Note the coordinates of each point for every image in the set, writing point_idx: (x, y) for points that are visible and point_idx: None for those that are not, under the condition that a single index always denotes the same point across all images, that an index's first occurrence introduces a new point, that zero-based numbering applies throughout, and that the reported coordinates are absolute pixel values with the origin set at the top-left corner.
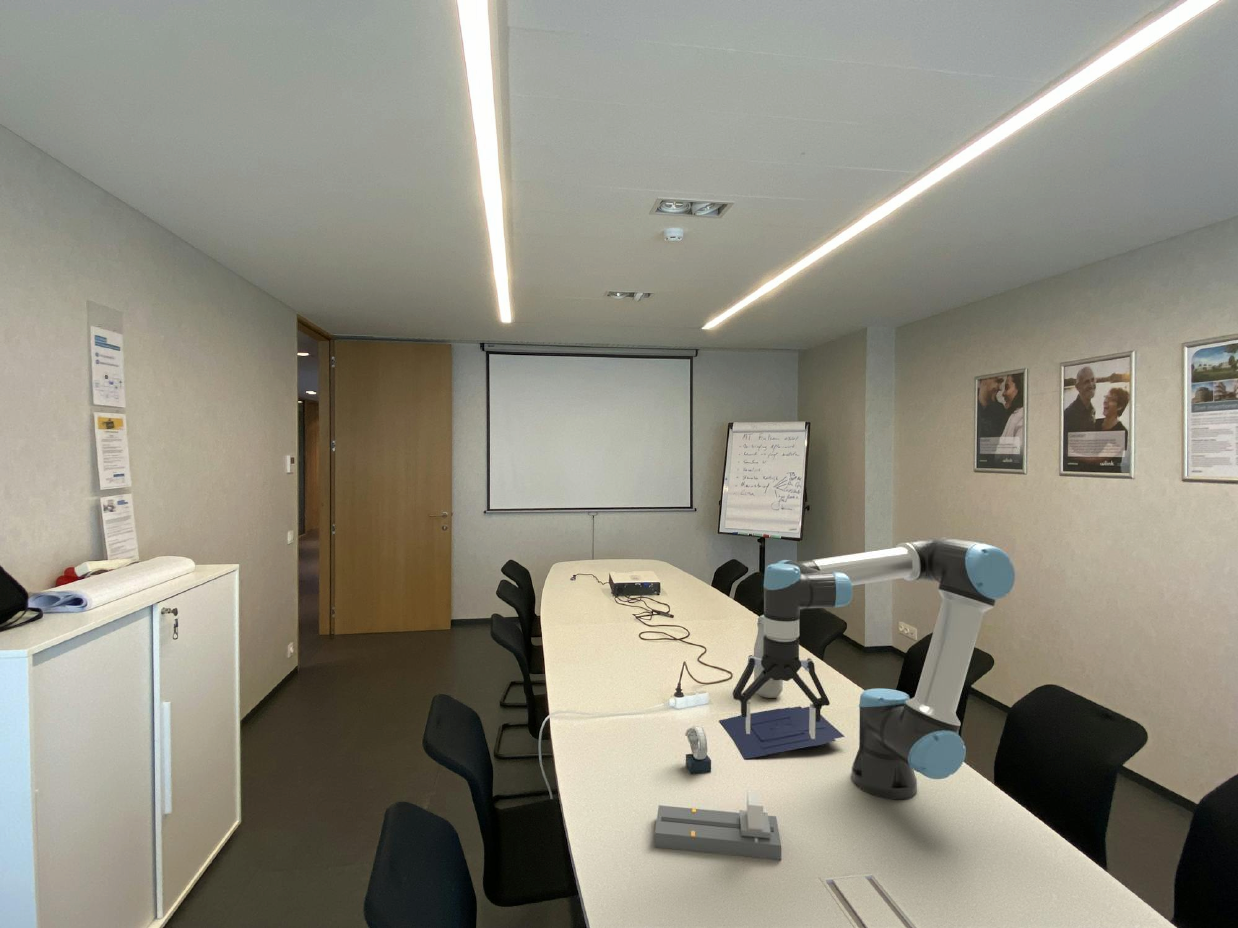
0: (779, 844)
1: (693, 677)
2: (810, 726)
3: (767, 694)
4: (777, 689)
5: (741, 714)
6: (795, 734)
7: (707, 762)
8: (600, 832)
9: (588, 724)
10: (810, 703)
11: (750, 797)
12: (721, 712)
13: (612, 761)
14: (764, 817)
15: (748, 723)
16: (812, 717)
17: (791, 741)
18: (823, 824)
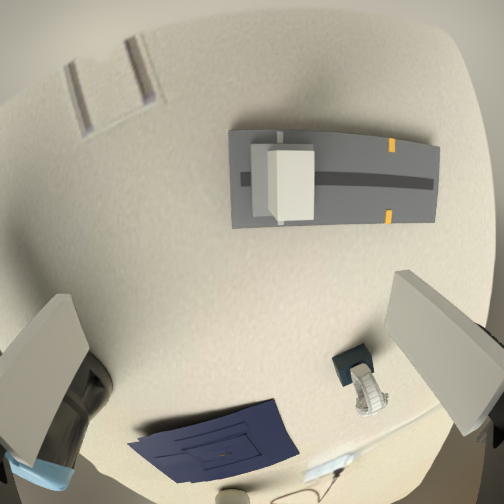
0: (232, 133)
1: (314, 492)
2: (59, 350)
3: (233, 492)
4: (221, 498)
5: (481, 326)
6: (194, 447)
7: (343, 366)
8: (475, 175)
9: None
10: (27, 464)
11: (307, 186)
12: (293, 464)
13: None
14: (260, 197)
15: (434, 295)
16: (8, 365)
17: (200, 436)
18: (144, 256)
